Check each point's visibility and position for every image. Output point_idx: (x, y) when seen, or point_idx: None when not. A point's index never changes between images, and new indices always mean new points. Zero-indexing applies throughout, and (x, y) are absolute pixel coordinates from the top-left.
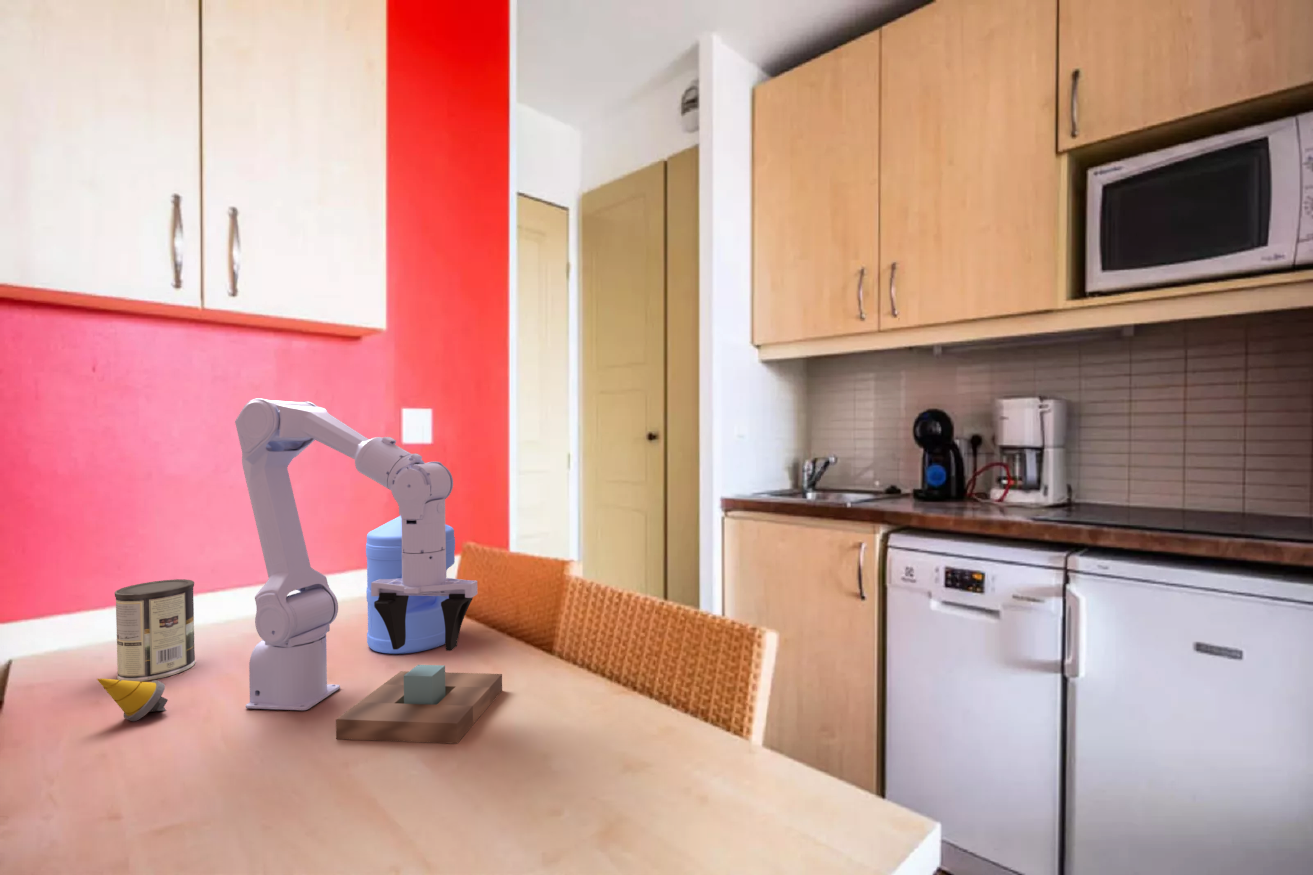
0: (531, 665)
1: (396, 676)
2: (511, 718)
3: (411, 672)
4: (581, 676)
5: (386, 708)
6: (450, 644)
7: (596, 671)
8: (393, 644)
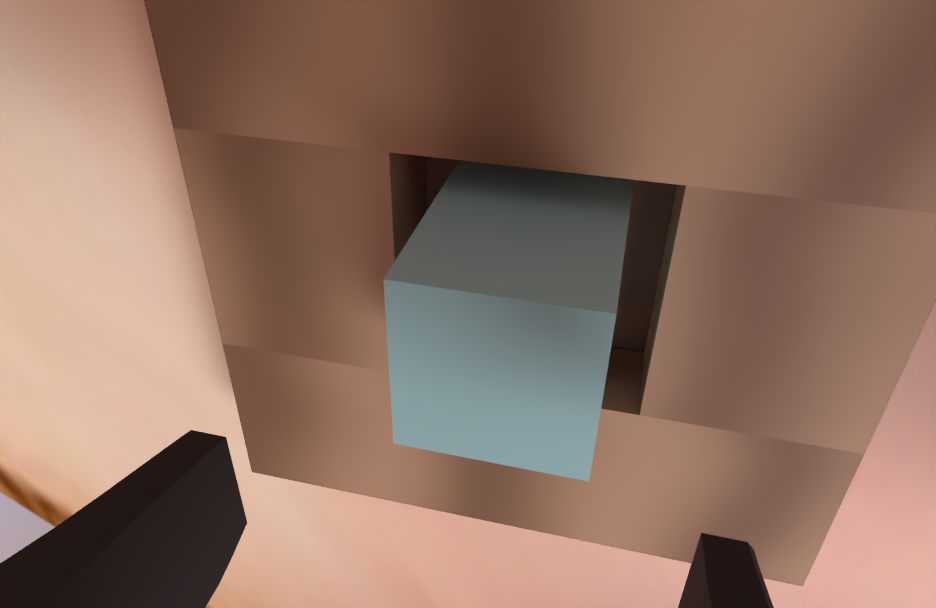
0: (291, 590)
1: (807, 533)
2: (99, 157)
3: (576, 361)
4: (67, 481)
5: (712, 106)
6: (143, 464)
7: (44, 507)
8: (742, 578)
